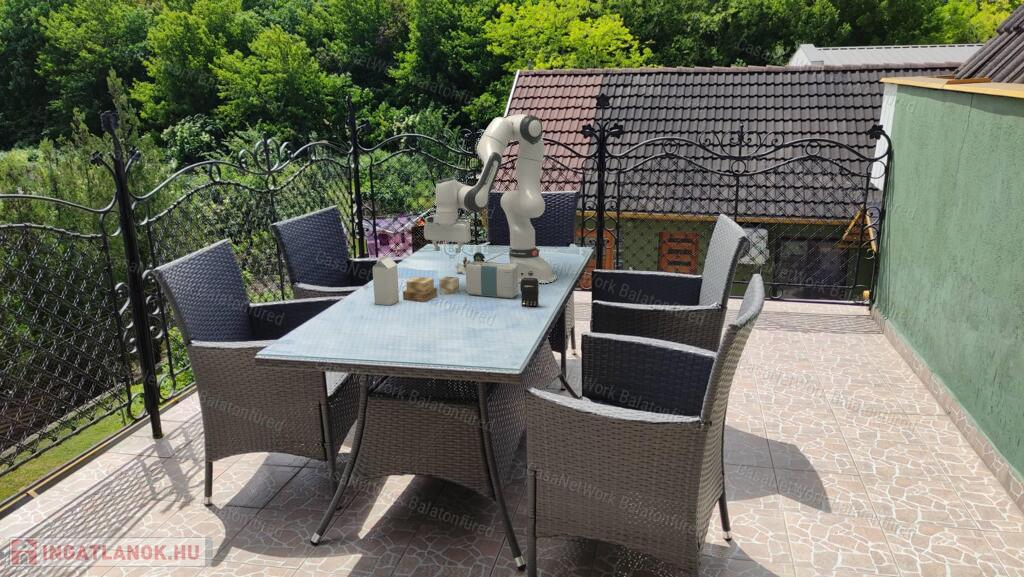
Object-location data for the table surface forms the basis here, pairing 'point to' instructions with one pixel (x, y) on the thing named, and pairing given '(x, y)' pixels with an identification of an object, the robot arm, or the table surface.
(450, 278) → the maple cube
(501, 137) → the robot arm
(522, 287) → the battery
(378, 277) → the milk carton
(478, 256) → the artificial flower
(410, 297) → the walnut slab
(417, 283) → the oak slab
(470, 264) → the stereo radio cassette player
